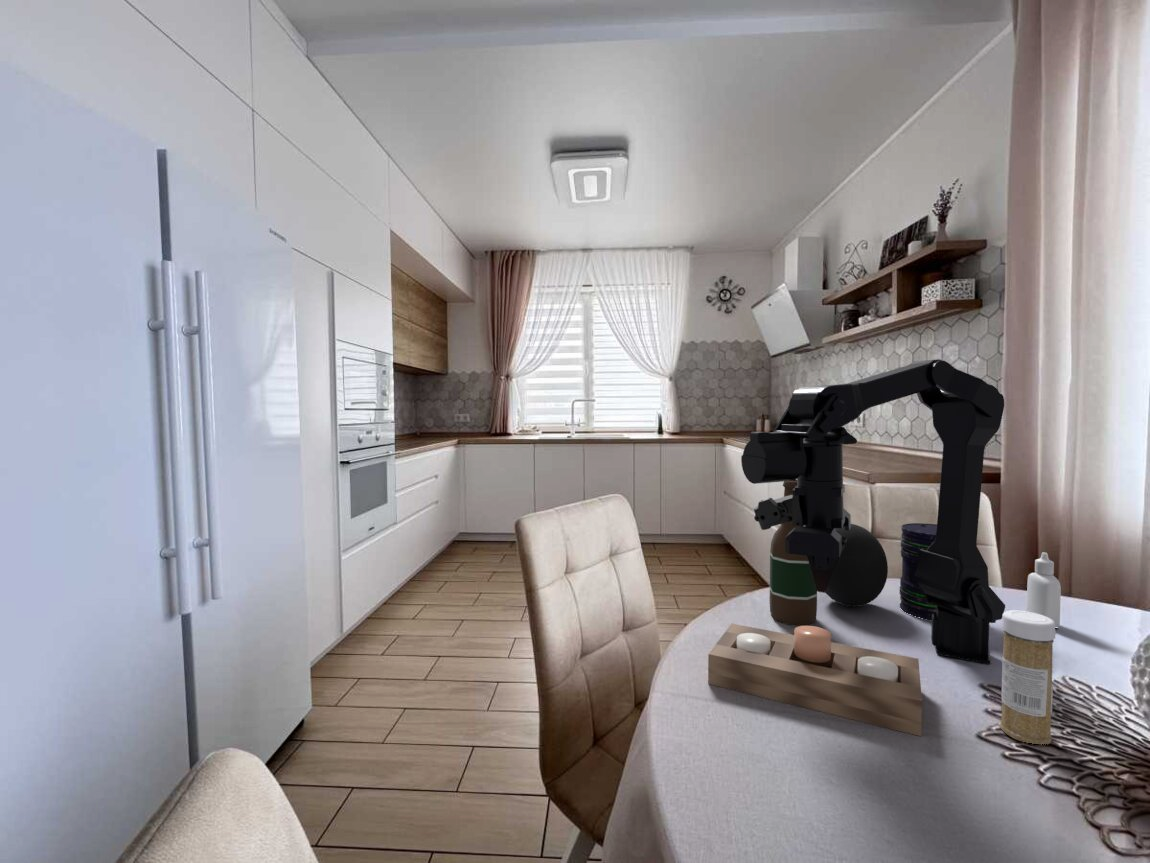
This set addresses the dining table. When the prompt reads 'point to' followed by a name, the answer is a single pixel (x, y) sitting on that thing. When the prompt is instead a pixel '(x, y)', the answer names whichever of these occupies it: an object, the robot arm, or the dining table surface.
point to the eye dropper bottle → (1044, 590)
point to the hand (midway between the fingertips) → (821, 591)
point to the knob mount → (820, 680)
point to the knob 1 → (753, 643)
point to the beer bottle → (790, 579)
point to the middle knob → (812, 643)
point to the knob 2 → (878, 668)
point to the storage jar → (915, 568)
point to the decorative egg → (858, 568)
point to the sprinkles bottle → (1027, 676)
